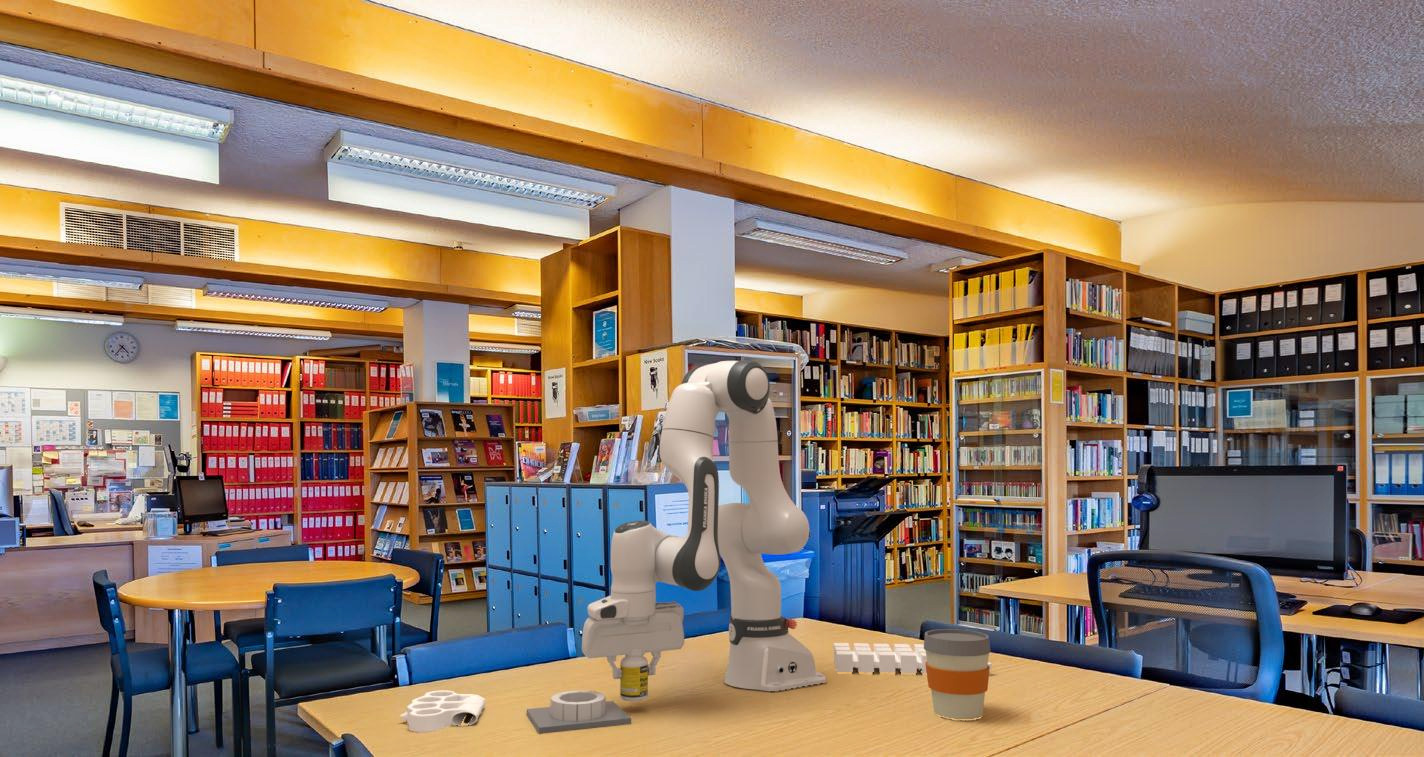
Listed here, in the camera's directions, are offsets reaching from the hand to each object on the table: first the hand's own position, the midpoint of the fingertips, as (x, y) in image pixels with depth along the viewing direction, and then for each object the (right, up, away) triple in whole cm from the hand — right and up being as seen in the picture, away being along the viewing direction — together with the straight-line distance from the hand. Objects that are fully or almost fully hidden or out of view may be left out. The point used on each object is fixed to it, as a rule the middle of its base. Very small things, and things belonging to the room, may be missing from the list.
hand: (634, 676), depth 176 cm
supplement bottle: (0, -4, 0) cm, 4 cm away
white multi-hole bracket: (-36, -6, -6) cm, 37 cm away
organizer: (+62, -10, +35) cm, 72 cm away
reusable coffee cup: (+63, -6, -4) cm, 63 cm away
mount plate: (-10, -6, -7) cm, 13 cm away
